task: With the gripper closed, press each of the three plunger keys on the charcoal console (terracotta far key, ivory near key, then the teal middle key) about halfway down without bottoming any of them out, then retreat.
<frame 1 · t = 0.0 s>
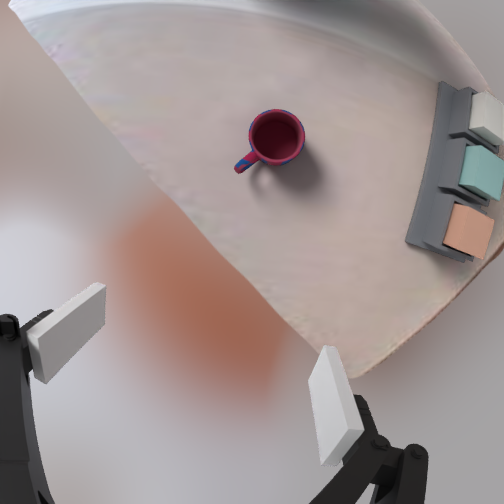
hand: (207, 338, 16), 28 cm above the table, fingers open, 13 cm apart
teal key: (480, 172, 32), point 7 cm above the table, slide at 0.0 cm
terracotta key: (466, 230, 34), point 7 cm above the table, slide at 0.0 cm
console: (456, 171, 38), on the table
mug: (265, 148, 40), on the table
ivory key: (488, 119, 30), point 7 cm above the table, slide at 0.0 cm
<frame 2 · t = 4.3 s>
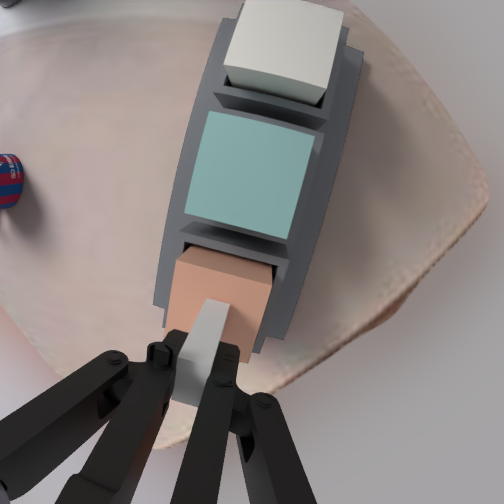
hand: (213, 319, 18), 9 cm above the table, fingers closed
teal key: (250, 173, 18), point 7 cm above the table, slide at 0.0 cm
terracotta key: (219, 299, 21), point 6 cm above the table, slide at -0.4 cm, touching gripper
console: (255, 174, 25), on the table
mug: (4, 188, 26), on the table
ivory key: (284, 49, 16), point 7 cm above the table, slide at 0.0 cm
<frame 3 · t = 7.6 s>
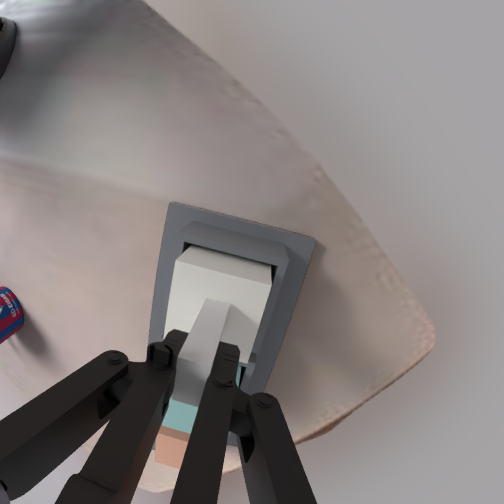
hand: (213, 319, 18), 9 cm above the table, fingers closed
teal key: (197, 391, 23), point 7 cm above the table, slide at 0.0 cm
terracotta key: (188, 439, 26), point 6 cm above the table, slide at -1.2 cm
console: (210, 350, 29), on the table
mug: (6, 312, 31), on the table
ivory key: (219, 299, 21), point 6 cm above the table, slide at -0.4 cm, touching gripper
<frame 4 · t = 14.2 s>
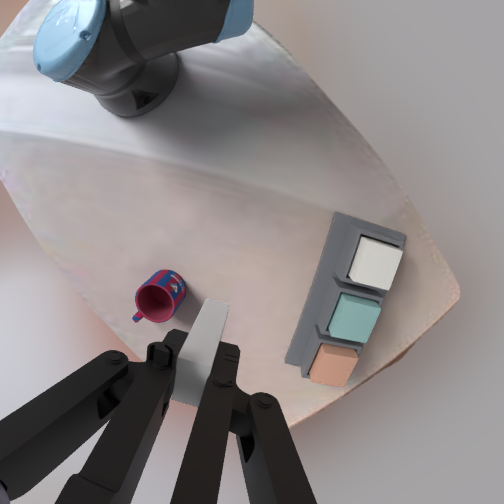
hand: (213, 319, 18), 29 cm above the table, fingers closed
teal key: (352, 315, 43), point 6 cm above the table, slide at -1.2 cm
terracotta key: (331, 361, 45), point 6 cm above the table, slide at -1.2 cm
console: (344, 301, 49), on the table
mug: (161, 291, 50), on the table
ivory key: (372, 261, 41), point 6 cm above the table, slide at -1.2 cm
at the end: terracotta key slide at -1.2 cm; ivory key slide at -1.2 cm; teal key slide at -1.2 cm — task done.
